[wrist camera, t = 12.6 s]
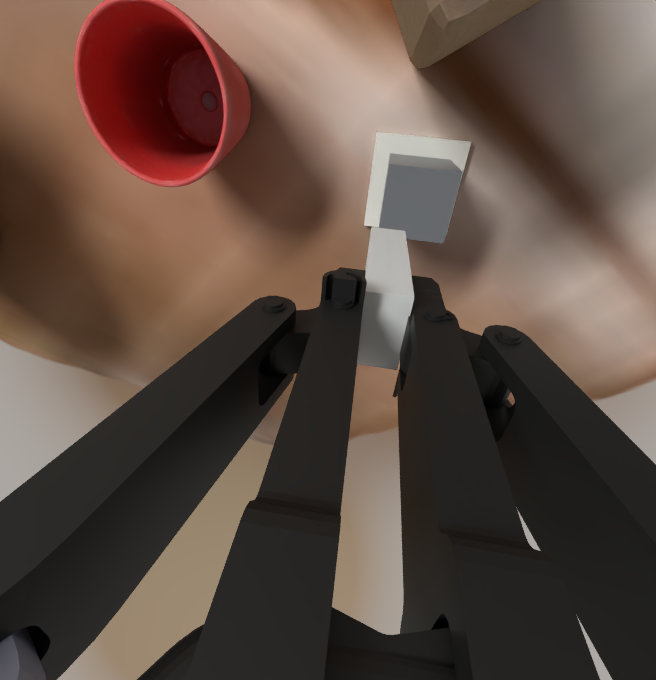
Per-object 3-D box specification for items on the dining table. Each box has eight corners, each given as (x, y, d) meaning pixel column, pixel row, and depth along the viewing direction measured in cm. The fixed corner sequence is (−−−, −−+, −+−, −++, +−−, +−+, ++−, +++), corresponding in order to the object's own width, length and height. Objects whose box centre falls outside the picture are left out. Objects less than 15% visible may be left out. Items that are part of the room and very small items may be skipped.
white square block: (364, 223, 36) (359, 246, 30) (376, 131, 31) (373, 138, 26) (445, 233, 35) (455, 259, 30) (470, 141, 31) (487, 150, 25)
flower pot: (294, 118, 32) (261, 124, 24) (210, 189, 36) (158, 214, 28) (212, -15, 28) (139, -62, 20) (129, 84, 32) (42, 78, 24)
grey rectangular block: (380, 214, 34) (377, 235, 29) (390, 153, 31) (389, 163, 26) (435, 220, 34) (443, 243, 28) (450, 159, 31) (462, 171, 25)
